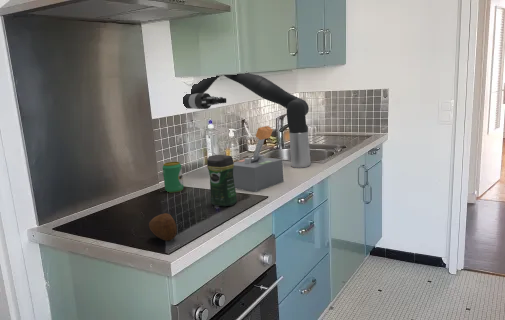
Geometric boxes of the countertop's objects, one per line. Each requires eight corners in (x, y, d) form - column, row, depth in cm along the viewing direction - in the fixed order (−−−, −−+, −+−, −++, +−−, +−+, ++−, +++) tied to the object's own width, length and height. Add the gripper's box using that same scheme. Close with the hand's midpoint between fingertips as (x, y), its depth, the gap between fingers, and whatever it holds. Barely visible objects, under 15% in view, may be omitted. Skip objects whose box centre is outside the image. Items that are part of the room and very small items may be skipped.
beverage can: (181, 192, 179) (178, 164, 176) (163, 193, 179) (159, 165, 177) (185, 187, 187) (182, 160, 184) (168, 188, 187) (164, 162, 185)
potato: (166, 246, 121) (163, 220, 120) (145, 239, 127) (142, 214, 126) (185, 237, 127) (183, 212, 125) (165, 231, 133) (162, 207, 131)
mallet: (256, 158, 184) (267, 125, 176) (260, 161, 182) (273, 129, 174) (246, 160, 180) (258, 127, 172) (251, 164, 178) (263, 131, 170)
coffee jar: (240, 202, 158) (236, 153, 154) (226, 208, 152) (222, 158, 148) (221, 199, 164) (217, 152, 160) (207, 205, 158) (202, 156, 154)
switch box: (256, 177, 195) (254, 151, 192) (283, 181, 184) (281, 154, 181) (228, 187, 182) (226, 159, 179) (256, 191, 171) (253, 162, 169)
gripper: (188, 94, 198) (213, 93, 186) (209, 92, 207) (234, 91, 195) (190, 110, 199) (215, 110, 187) (211, 107, 208) (236, 107, 197)
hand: (225, 100), depth 191 cm, fingers closed
